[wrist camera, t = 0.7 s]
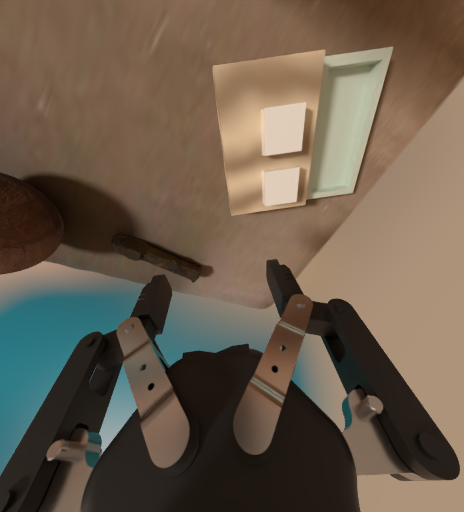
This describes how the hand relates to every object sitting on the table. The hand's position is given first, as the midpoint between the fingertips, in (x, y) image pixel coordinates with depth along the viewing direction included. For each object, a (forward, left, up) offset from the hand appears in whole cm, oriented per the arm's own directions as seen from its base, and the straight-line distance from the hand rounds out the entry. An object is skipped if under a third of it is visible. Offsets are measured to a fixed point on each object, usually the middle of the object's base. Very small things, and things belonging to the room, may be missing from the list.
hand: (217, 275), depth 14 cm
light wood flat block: (-7, +9, -23) cm, 26 cm away
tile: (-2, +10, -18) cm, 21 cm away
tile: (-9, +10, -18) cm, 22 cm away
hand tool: (+11, -15, -24) cm, 30 cm away
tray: (-7, +21, -23) cm, 32 cm away
